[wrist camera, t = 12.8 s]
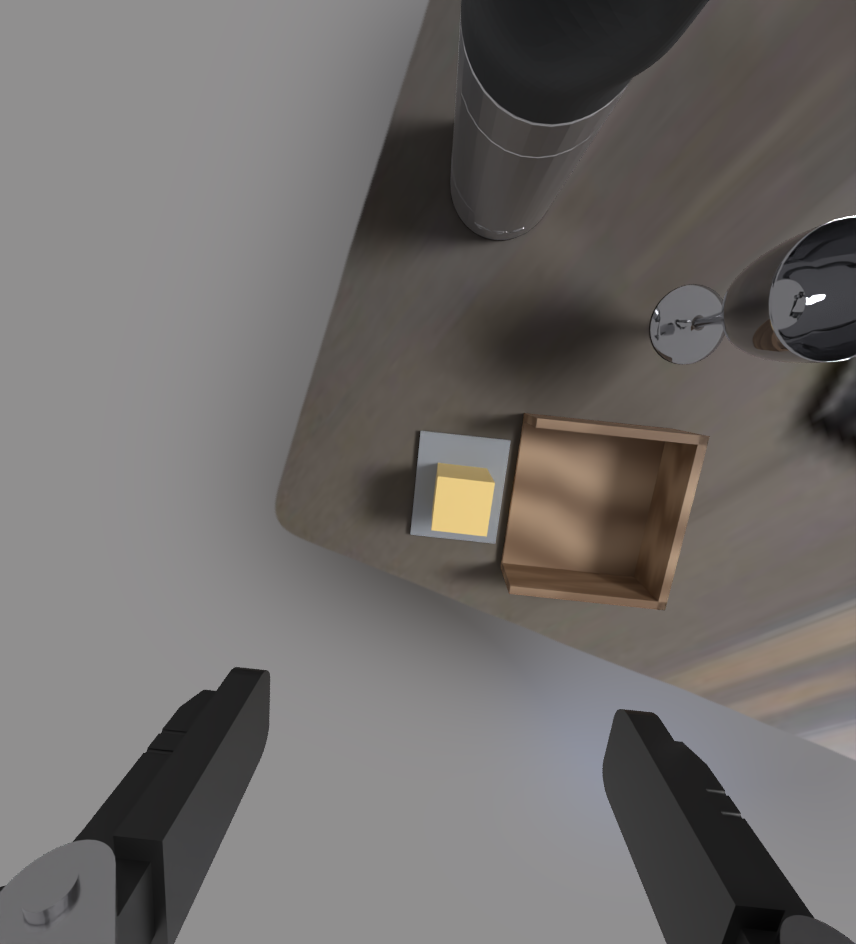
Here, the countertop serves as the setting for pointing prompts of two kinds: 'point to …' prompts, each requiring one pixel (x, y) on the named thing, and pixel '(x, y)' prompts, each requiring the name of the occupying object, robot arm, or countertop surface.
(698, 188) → the countertop surface
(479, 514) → the block
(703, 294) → the wine glass
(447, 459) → the mat
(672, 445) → the box
